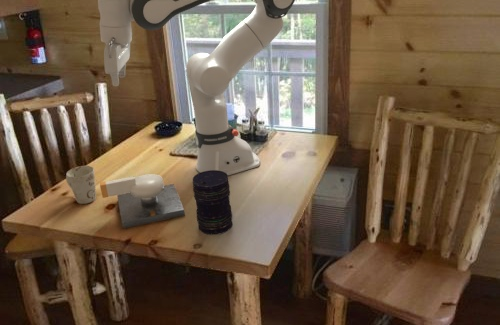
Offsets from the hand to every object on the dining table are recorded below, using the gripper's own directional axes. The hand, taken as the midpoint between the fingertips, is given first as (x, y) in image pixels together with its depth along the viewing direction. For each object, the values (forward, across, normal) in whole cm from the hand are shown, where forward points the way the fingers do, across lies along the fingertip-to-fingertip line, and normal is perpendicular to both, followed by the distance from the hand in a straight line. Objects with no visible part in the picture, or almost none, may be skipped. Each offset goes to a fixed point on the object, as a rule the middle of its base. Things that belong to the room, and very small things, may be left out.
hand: (119, 81), depth 151 cm
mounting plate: (+35, -15, -10) cm, 39 cm away
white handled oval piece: (+30, -16, -6) cm, 34 cm away
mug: (+38, -4, +13) cm, 40 cm away
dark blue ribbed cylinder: (+33, -28, -30) cm, 53 cm away
